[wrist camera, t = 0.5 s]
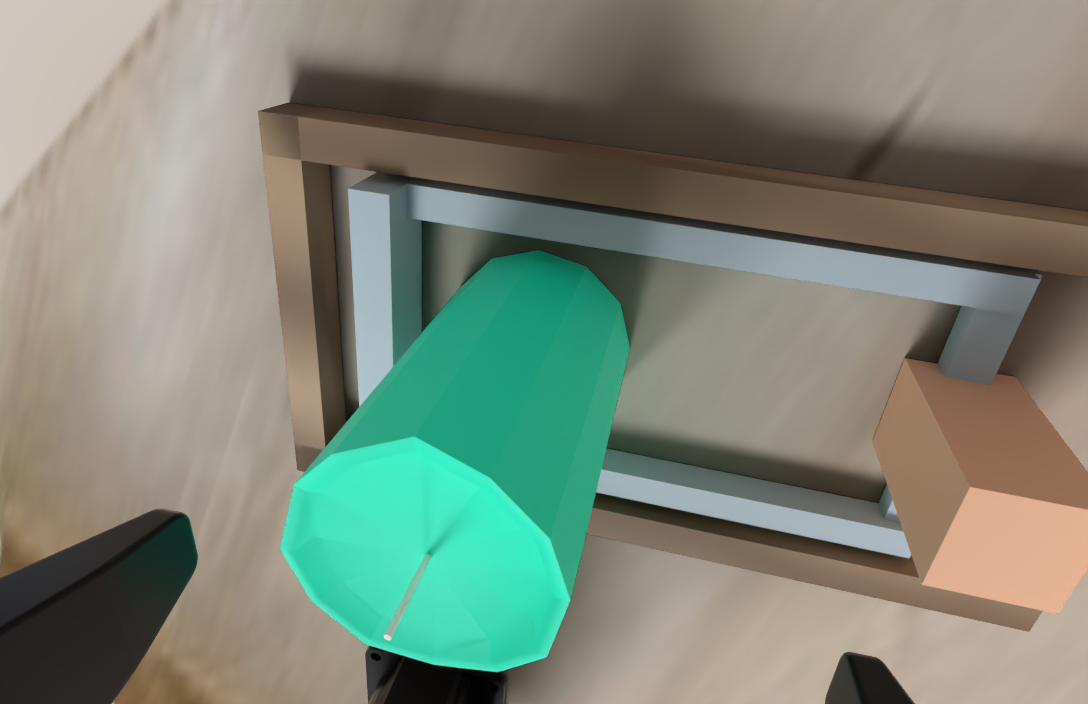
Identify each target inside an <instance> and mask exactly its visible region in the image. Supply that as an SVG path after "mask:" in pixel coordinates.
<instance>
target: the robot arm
mask: <svg viewBox="0 0 1088 704" xmlns="http://www.w3.org/2000/svg"><path fill="white" fill-rule="evenodd" d="M197 560H198V554H197V549H196V545H195V540H194V536H193V532H192V527H191V523H190V520H189V518H188V517H187V515H186V514H184V513H181V512H177V511H172V510H167V509H155V510H153V511H150V512H148V513H145V514H143V515H141V516H139V517H136V518H134V519H132V520H130V521H127V522H125V523H123V524H121V525H118V526H116V527H114V528H112V529H109V530H107V531H105V532H103V533H100V534H98V535H96V536H94V537H91V538H89V539H87V540H85V541H82V542H80V543H78V544H76V545H73V546H71V547H69V548H67V549H64V550H62V551H60V552H57V553H55V554H53V555H51V556H48V557H46V558H44V559H42V560H39V561H37V562H35V563H33V564H30V565H28V566H26V567H24V568H21V569H19V570H17V571H15V572H12V573H10V574H8V575H6V576H3V577H1V578H0V704H112V702H113V701H114V700H115V698H116V697H117V696H118V694H119V693H120V691H121V690H122V689H123V687H124V686H125V684H126V683H127V681H128V680H129V679H130V677H131V676H132V674H133V673H134V671H135V670H136V668H137V667H138V665H139V664H140V662H141V660H142V659H143V657H144V656H145V654H146V652H147V651H148V649H149V647H150V646H151V644H152V642H153V641H154V639H155V637H156V636H157V634H158V632H159V631H160V629H161V627H162V625H163V624H164V622H165V620H166V619H167V617H168V615H169V614H170V612H171V610H172V609H173V607H174V605H175V604H176V602H177V600H178V599H179V597H180V595H181V593H182V592H183V590H184V588H185V587H186V585H187V583H188V582H189V580H190V578H191V577H192V575H193V573H194V571H195V568H196V565H197ZM365 655H366V672H367V689H368V704H504V701H505V690H506V679H505V678H504V676H502V675H501V674H499V673H497V672H491V671H483V670H474V669H465V668H457V667H448V666H440V665H433V664H430V663H426V662H423V661H419V660H416V659H413V658H409V657H406V656H403V655H399V654H396V653H393V652H389V651H386V650H382V649H379V648H376V647H372V646H369V647H368V649H367V651H366V654H365ZM825 704H915V703H914V702H913V701H912V699H911V698H910V697H909V696H908V694H907V693H906V692H905V690H904V689H903V688H902V686H901V685H900V684H899V682H898V681H897V680H896V678H895V677H894V676H893V674H892V673H891V672H890V670H889V669H888V668H887V666H886V665H885V664H884V663H883V662H882V661H881V660H880V659H878V658H876V657H872V656H867V655H862V654H857V653H853V652H846V653H844V654H843V655H842V657H841V658H840V660H839V663H838V666H837V668H836V671H835V673H834V676H833V679H832V681H831V684H830V686H829V689H828V692H827V695H826V700H825Z"/></svg>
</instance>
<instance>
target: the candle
mask: <svg viewBox="0 0 1088 704" xmlns="http://www.w3.org/2000/svg"><path fill="white" fill-rule="evenodd" d="M629 350H630V345H629V340H628V335H627V331H626V326H625V322H624V317H623V312H622V308H621V303H620V302H619V301H618V300H617V299H616V298H615V297H614V296H613V295H612V293H611V292H610V291H609V290H608V289H607V288H606V287H605V286H604V285H603V284H602V283H601V282H600V280H599V279H598V278H597V277H596V276H595V275H594V274H593V273H592V272H591V271H590V270H589V269H588V267H586V266H583V265H581V264H578V263H575V262H572V261H569V260H566V259H563V258H560V257H557V256H555V255H552V254H549V253H546V252H543V251H540V250H536V251H530V252H525V253H519V254H513V255H508V256H502V257H496V258H492V259H491V260H489V261H488V262H487V263H486V264H485V265H484V266H483V267H482V268H481V269H480V270H479V271H477V272H476V273H475V274H474V275H473V276H472V277H471V278H470V279H469V280H468V281H467V282H466V283H464V284H463V285H462V286H461V287H460V288H459V289H458V291H457V292H456V293H455V294H454V295H453V296H452V298H451V299H450V300H449V301H448V302H447V304H446V305H445V306H444V307H443V308H442V310H441V311H440V312H439V313H438V314H437V315H436V317H435V318H434V319H433V320H432V321H431V323H430V324H429V325H428V326H427V327H426V328H425V330H424V331H423V332H422V333H421V334H420V336H419V337H418V338H417V339H416V340H415V342H414V343H413V344H412V345H411V346H410V347H409V349H408V350H407V351H406V352H405V353H404V355H403V356H402V357H401V358H400V359H399V361H398V362H397V363H396V364H395V365H394V366H393V368H392V369H391V370H390V371H389V372H388V374H387V375H386V376H385V377H384V378H383V379H382V381H381V382H380V383H379V384H378V385H377V387H376V388H375V389H374V390H373V391H372V393H371V394H370V395H369V396H368V397H367V398H366V400H365V401H364V402H363V403H362V404H361V406H360V407H359V408H358V409H357V410H356V412H355V413H354V414H353V415H352V416H351V417H350V419H349V420H348V421H347V422H346V423H345V425H344V426H343V427H342V428H341V429H340V431H339V432H338V433H337V434H336V435H335V436H334V438H333V439H332V440H331V441H330V442H329V444H328V445H327V446H326V447H325V448H324V449H323V451H322V452H321V453H320V454H319V455H318V457H317V458H316V459H315V460H314V461H313V463H312V464H311V465H310V466H309V467H308V468H307V470H306V471H305V472H304V473H303V474H302V476H301V477H300V478H299V479H298V480H297V482H296V483H295V484H294V488H293V492H292V497H291V501H290V506H289V511H288V515H287V520H286V524H285V529H284V533H283V538H282V542H281V547H280V550H281V552H282V554H283V555H284V557H285V559H286V560H287V562H288V563H289V565H290V567H291V568H292V570H293V572H294V573H295V575H296V577H297V578H298V580H299V582H300V583H301V585H302V586H303V588H304V590H305V591H306V593H307V595H308V596H309V598H310V600H311V601H312V602H313V603H314V604H316V605H317V606H318V607H319V608H321V609H322V610H323V611H324V612H326V613H327V614H328V615H329V616H331V617H332V618H333V619H334V620H336V621H337V622H338V623H339V624H341V625H342V626H343V627H344V628H346V629H347V630H348V631H349V632H351V633H352V634H353V635H354V636H356V637H357V638H358V639H360V640H361V641H362V642H363V643H365V644H366V645H369V646H372V647H376V648H379V649H382V650H386V651H389V652H393V653H396V654H399V655H403V656H406V657H409V658H413V659H416V660H419V661H423V662H426V663H430V664H433V665H440V666H448V667H457V668H465V669H474V670H483V671H491V672H500V671H504V670H507V669H510V668H514V667H517V666H520V665H524V664H527V663H530V662H534V661H537V660H540V659H543V658H547V656H548V653H549V651H550V649H551V646H552V644H553V641H554V639H555V637H556V634H557V632H558V629H559V627H560V624H561V622H562V620H563V617H564V615H565V612H566V610H567V608H568V605H569V603H570V600H571V596H572V592H573V588H574V583H575V579H576V575H577V571H578V567H579V562H580V558H581V554H582V550H583V545H584V541H585V537H586V533H587V528H588V524H589V520H590V516H591V511H592V507H593V503H594V499H595V494H596V490H597V486H598V482H599V477H600V473H601V469H602V465H603V461H604V456H605V452H606V448H607V444H608V439H609V435H610V431H611V427H612V422H613V418H614V414H615V410H616V405H617V401H618V397H619V393H620V388H621V384H622V380H623V376H624V372H625V367H626V363H627V359H628V355H629Z"/></svg>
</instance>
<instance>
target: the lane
mask: <svg viewBox="0 0 1088 704" xmlns="http://www.w3.org/2000/svg"><path fill="white" fill-rule="evenodd" d="M258 116H259V125H260V134H261V143H262V152H263V161H264V170H265V179H266V189H267V198H268V207H269V216H270V225H271V234H272V243H273V252H274V261H275V270H276V279H277V289H278V298H279V307H280V316H281V325H282V334H283V343H284V352H285V361H286V370H287V379H288V389H289V398H290V407H291V416H292V425H293V434H294V443H295V452H296V461H297V470H299V471H304V472H305V471H306V470H307V468H308V467H309V466H310V465H311V464H312V463H313V461H314V460H315V459H316V458H317V457H318V455H319V454H320V453H321V452H322V451H323V449H324V448H325V447H326V446H327V445H328V444H329V442H330V441H331V440H332V439H333V438H334V436H335V435H336V434H337V433H338V432H339V431H340V429H341V428H342V427H343V426H344V425H345V423H346V415H345V399H344V384H343V368H342V352H341V337H340V321H339V306H338V290H337V274H336V259H335V243H334V228H333V212H332V196H331V181H330V165H336V166H343V167H349V168H356V169H363V170H369V171H376V172H383V173H390V174H396V175H403V176H410V177H416V178H423V179H430V180H437V181H443V182H450V183H457V184H463V185H470V186H477V187H484V188H490V189H497V190H504V191H510V192H517V193H524V194H530V195H537V196H544V197H551V198H557V199H564V200H571V201H577V202H584V203H591V204H598V205H604V206H611V207H618V208H624V209H631V210H638V211H645V212H651V213H658V214H665V215H671V216H678V217H685V218H692V219H698V220H705V221H712V222H718V223H725V224H732V225H739V226H745V227H752V228H759V229H765V230H772V231H779V232H786V233H792V234H799V235H806V236H812V237H819V238H826V239H833V240H839V241H846V242H853V243H859V244H866V245H873V246H880V247H886V248H893V249H900V250H906V251H913V252H920V253H926V254H933V255H940V256H947V257H953V258H960V259H967V260H973V261H980V262H987V263H994V264H1000V265H1007V266H1014V267H1020V268H1027V269H1034V270H1041V271H1047V272H1054V273H1061V274H1067V275H1074V276H1081V277H1088V211H1081V210H1074V209H1066V208H1059V207H1051V206H1044V205H1037V204H1029V203H1022V202H1015V201H1007V200H1000V199H993V198H985V197H978V196H971V195H963V194H956V193H949V192H941V191H934V190H927V189H919V188H912V187H904V186H897V185H890V184H882V183H875V182H868V181H860V180H853V179H846V178H838V177H831V176H824V175H816V174H809V173H802V172H794V171H787V170H780V169H772V168H765V167H758V166H750V165H743V164H735V163H728V162H721V161H713V160H706V159H699V158H691V157H684V156H677V155H669V154H662V153H655V152H647V151H640V150H633V149H625V148H618V147H611V146H603V145H596V144H589V143H581V142H574V141H566V140H559V139H552V138H544V137H537V136H530V135H522V134H515V133H508V132H500V131H493V130H486V129H478V128H471V127H464V126H456V125H449V124H442V123H434V122H427V121H419V120H412V119H405V118H397V117H390V116H383V115H375V114H368V113H361V112H353V111H346V110H339V109H331V108H324V107H317V106H309V105H302V104H295V103H286V104H282V105H278V106H275V107H271V108H268V109H264V110H260V111H258ZM586 534H589V535H594V536H598V537H603V538H607V539H612V540H616V541H621V542H625V543H630V544H634V545H639V546H643V547H648V548H652V549H657V550H661V551H666V552H671V553H675V554H680V555H684V556H689V557H693V558H698V559H702V560H707V561H711V562H716V563H720V564H725V565H729V566H734V567H739V568H743V569H748V570H752V571H757V572H761V573H766V574H770V575H775V576H779V577H784V578H788V579H793V580H797V581H802V582H806V583H811V584H816V585H820V586H825V587H829V588H834V589H838V590H843V591H847V592H852V593H856V594H861V595H865V596H870V597H874V598H879V599H884V600H888V601H893V602H897V603H902V604H906V605H911V606H915V607H920V608H924V609H929V610H933V611H938V612H942V613H947V614H951V615H956V616H961V617H965V618H970V619H974V620H979V621H983V622H988V623H992V624H997V625H1001V626H1006V627H1010V628H1015V629H1019V630H1024V631H1030V630H1031V628H1032V626H1033V625H1034V623H1035V622H1036V620H1037V619H1038V617H1039V615H1040V614H1041V612H1042V611H1041V610H1037V609H1032V608H1028V607H1023V606H1018V605H1014V604H1009V603H1004V602H1000V601H995V600H990V599H986V598H981V597H977V596H972V595H967V594H963V593H958V592H953V591H949V590H944V589H940V588H935V587H930V586H926V585H922V584H921V581H920V578H919V576H918V573H917V570H916V567H915V564H914V561H913V558H912V555H911V556H910V558H904V557H900V556H895V555H890V554H886V553H881V552H876V551H871V550H867V549H862V548H857V547H852V546H848V545H843V544H838V543H833V542H829V541H824V540H819V539H815V538H810V537H805V536H800V535H796V534H791V533H786V532H781V531H777V530H772V529H767V528H762V527H758V526H753V525H748V524H743V523H739V522H734V521H729V520H725V519H720V518H715V517H710V516H706V515H701V514H696V513H691V512H687V511H682V510H677V509H672V508H668V507H663V506H658V505H654V504H649V503H644V502H639V501H635V500H630V499H625V498H620V497H616V496H611V495H606V494H601V493H597V492H596V494H595V499H594V503H593V507H592V511H591V516H590V520H589V524H588V528H587V533H586Z"/></svg>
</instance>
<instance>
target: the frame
mask: <svg viewBox="0 0 1088 704" xmlns="http://www.w3.org/2000/svg"><path fill="white" fill-rule="evenodd" d="M348 200H349V219H350V238H351V257H352V277H353V296H354V315H355V334H356V353H357V373H358V392H359V407H360V406H361V404H362V403H363V402H364V401H365V400H366V398H367V397H368V396H369V395H370V394H371V393H372V391H373V390H374V389H375V388H376V387H377V385H378V384H379V383H380V382H381V381H382V379H383V378H384V377H385V376H386V375H387V374H388V372H389V371H390V370H391V369H392V368H393V366H394V365H395V364H396V363H397V362H398V361H399V359H400V358H401V357H402V356H403V355H404V353H405V352H406V351H407V350H408V349H409V347H410V346H411V345H412V344H413V343H414V342H415V340H416V339H417V338H418V337H419V336H420V334H421V333H422V220H424V221H430V222H436V223H443V224H449V225H455V226H462V227H468V228H474V229H481V230H487V231H493V232H500V233H506V234H512V235H519V236H525V237H531V238H537V239H544V240H550V241H556V242H563V243H569V244H575V245H582V246H588V247H594V248H601V249H607V250H613V251H620V252H626V253H632V254H639V255H645V256H651V257H657V258H664V259H670V260H676V261H683V262H689V263H695V264H702V265H708V266H714V267H721V268H727V269H733V270H740V271H746V272H752V273H758V274H765V275H771V276H777V277H784V278H790V279H796V280H803V281H809V282H815V283H822V284H828V285H834V286H841V287H847V288H853V289H859V290H866V291H872V292H878V293H885V294H891V295H897V296H904V297H910V298H916V299H923V300H929V301H935V302H942V303H948V304H954V305H960V306H961V309H960V311H959V313H958V316H957V318H956V321H955V323H954V325H953V328H952V330H951V333H950V335H949V337H948V340H947V342H946V344H945V347H944V349H943V352H942V354H941V356H940V359H939V361H938V364H937V363H931V362H925V361H919V360H913V359H907V358H905V359H904V362H903V364H902V367H901V369H900V372H899V374H898V377H897V380H896V382H895V385H894V387H893V390H892V392H891V395H890V397H889V400H888V403H887V405H886V408H885V410H884V413H883V415H882V418H881V420H880V423H879V426H878V428H877V431H876V433H875V436H874V438H873V444H874V447H875V450H876V453H877V456H878V459H879V462H880V465H881V468H882V471H883V473H884V476H885V479H886V482H887V485H886V488H885V490H884V492H883V495H882V497H881V499H880V502H879V503H875V502H870V501H865V500H860V499H855V498H850V497H845V496H840V495H835V494H830V493H825V492H820V491H815V490H810V489H805V488H800V487H795V486H790V485H785V484H780V483H775V482H771V481H766V480H761V479H756V478H751V477H746V476H741V475H736V474H731V473H726V472H721V471H716V470H711V469H706V468H701V467H696V466H691V465H686V464H681V463H676V462H671V461H666V460H661V459H656V458H651V457H646V456H641V455H636V454H631V453H626V452H622V451H617V450H612V449H607V448H606V452H605V456H604V461H603V465H602V469H601V473H600V477H599V482H598V486H597V490H596V492H597V493H601V494H606V495H611V496H616V497H620V498H625V499H630V500H635V501H639V502H644V503H649V504H654V505H658V506H663V507H668V508H672V509H677V510H682V511H687V512H691V513H696V514H701V515H706V516H710V517H715V518H720V519H725V520H729V521H734V522H739V523H743V524H748V525H753V526H758V527H762V528H767V529H772V530H777V531H781V532H786V533H791V534H796V535H800V536H805V537H810V538H815V539H819V540H824V541H829V542H833V543H838V544H843V545H848V546H852V547H857V548H862V549H867V550H871V551H876V552H881V553H886V554H890V555H895V556H900V557H904V558H910V556H911V555H912V558H913V561H914V564H915V567H916V570H917V573H918V576H919V578H920V581H921V584H922V585H926V586H930V587H935V588H940V589H944V590H949V591H953V592H958V593H963V594H967V595H972V596H977V597H981V598H986V599H990V600H995V601H1000V602H1004V603H1009V604H1014V605H1018V606H1023V607H1028V608H1032V609H1037V610H1041V611H1046V612H1051V613H1055V614H1058V613H1059V612H1060V610H1061V609H1062V607H1063V606H1064V604H1065V602H1066V601H1067V599H1068V598H1069V596H1070V595H1071V593H1072V592H1073V590H1074V589H1075V587H1076V585H1077V584H1078V582H1079V581H1080V579H1081V578H1082V576H1083V575H1084V573H1085V572H1086V570H1087V569H1088V472H1087V470H1086V469H1085V468H1084V467H1083V465H1082V464H1081V463H1080V461H1079V460H1078V459H1077V457H1076V456H1075V455H1074V453H1073V452H1072V451H1071V449H1070V448H1069V447H1068V446H1067V444H1066V443H1065V442H1064V440H1063V439H1062V438H1061V436H1060V435H1059V434H1058V432H1057V431H1056V430H1055V429H1054V427H1053V426H1052V425H1051V423H1050V422H1049V421H1048V419H1047V418H1046V417H1045V415H1044V414H1043V413H1042V411H1041V410H1040V409H1039V408H1038V406H1037V405H1036V404H1035V402H1034V401H1033V400H1032V398H1031V397H1030V396H1029V394H1028V393H1027V392H1026V390H1025V389H1024V388H1023V387H1022V385H1021V384H1020V383H1019V381H1018V380H1017V379H1016V377H1013V376H1007V375H1001V374H997V372H998V369H999V367H1000V365H1001V363H1002V361H1003V359H1004V357H1005V355H1006V352H1007V350H1008V348H1009V346H1010V344H1011V342H1012V340H1013V338H1014V335H1015V333H1016V331H1017V329H1018V327H1019V325H1020V323H1021V321H1022V318H1023V316H1024V314H1025V312H1026V310H1027V308H1028V306H1029V304H1030V302H1031V299H1032V297H1033V295H1034V293H1035V291H1036V289H1037V287H1038V285H1039V282H1040V280H1041V278H1042V276H1043V275H1042V274H1041V273H1040V272H1039V271H1038V270H1034V269H1027V268H1020V267H1014V266H1007V265H1000V264H994V263H987V262H980V261H973V260H967V259H960V258H953V257H947V256H940V255H933V254H926V253H920V252H913V251H906V250H900V249H893V248H886V247H880V246H873V245H866V244H859V243H853V242H846V241H839V240H833V239H826V238H819V237H812V236H806V235H799V234H792V233H786V232H779V231H772V230H765V229H759V228H752V227H745V226H739V225H732V224H725V223H718V222H712V221H705V220H698V219H692V218H685V217H678V216H671V215H665V214H658V213H651V212H645V211H638V210H631V209H624V208H618V207H611V206H604V205H598V204H591V203H584V202H577V201H571V200H564V199H557V198H551V197H544V196H537V195H530V194H524V193H517V192H510V191H504V190H497V189H490V188H484V187H477V186H470V185H463V184H457V183H450V182H443V181H437V180H430V179H423V178H416V177H410V176H403V175H396V174H390V173H383V172H377V173H375V174H373V175H372V176H370V177H368V178H366V179H364V180H363V181H361V182H359V183H357V184H355V185H354V186H352V187H350V188H348Z"/></svg>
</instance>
